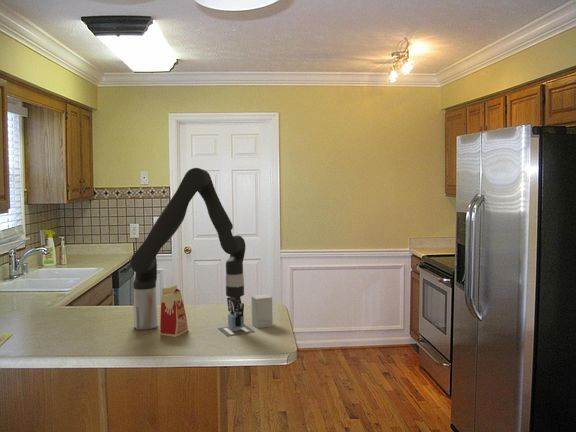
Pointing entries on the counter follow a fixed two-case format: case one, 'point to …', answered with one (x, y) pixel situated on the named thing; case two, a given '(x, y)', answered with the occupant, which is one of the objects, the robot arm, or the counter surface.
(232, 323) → the slate blue cube
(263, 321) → the supplement box
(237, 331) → the letter mat
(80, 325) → the counter surface
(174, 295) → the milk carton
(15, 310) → the counter surface
